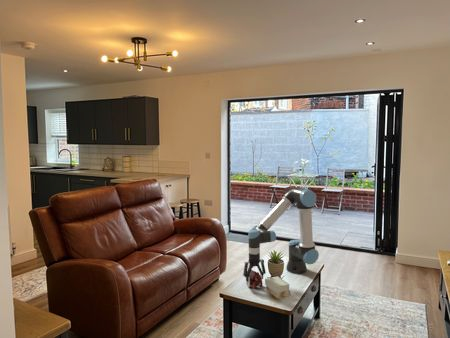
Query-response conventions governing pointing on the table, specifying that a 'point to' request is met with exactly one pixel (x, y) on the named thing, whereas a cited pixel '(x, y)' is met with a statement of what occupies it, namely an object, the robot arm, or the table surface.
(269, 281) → the cream flat block
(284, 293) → the block
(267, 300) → the table surface
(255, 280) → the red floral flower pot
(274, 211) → the robot arm
